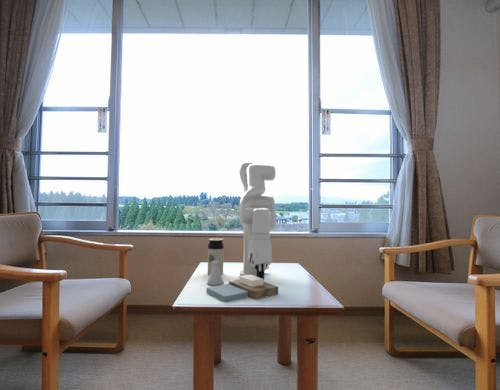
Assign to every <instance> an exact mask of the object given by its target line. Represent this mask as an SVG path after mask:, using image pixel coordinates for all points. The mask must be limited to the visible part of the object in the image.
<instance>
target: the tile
mask: <svg viewBox="0 0 500 390" xmlns="http://www.w3.org/2000/svg"><path fill="white" fill-rule="evenodd" d="M238 280H239V282H240V283H243V284H246V285H248V286H251V287H254V286H260V285H264V282H265V278H264V279H263V278H259V277H256V276H253V275H244V276H242V275H239V278H238Z"/></svg>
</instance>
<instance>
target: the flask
mask: <svg viewBox="0 0 500 390" xmlns="http://www.w3.org/2000/svg"><path fill="white" fill-rule="evenodd" d="M212 263H213V267H212V271H211V274H210V275H209V277H208V279H207V281H206V284H207V285H209V286H213V287H214V286H220V285H224V280H223V279H224V278H223V276H222V274H220V271H219V262H218V261H213V262H212Z"/></svg>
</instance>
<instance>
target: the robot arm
mask: <svg viewBox="0 0 500 390" xmlns="http://www.w3.org/2000/svg"><path fill="white" fill-rule="evenodd" d="M238 172H239V177H240V182H241V183H242V186H243V192H244V193H243V194H242V196H241V197H240V200H239V220H240V222H241V224H242V231H243V260H242V261H243V263H242V264H243V270H241V271H240V272H239V273H240V276H244V275H253V276H256V277H259V278H263V279H264V280H265V274H266V272H265V271H266V270H269V269H270V265H271V262H272V260H273V250H272V249H273V248H272V242H271V239H270V237H271V236H272V234H271V232H274V231H275V230H276V228H277V216H276V215H277V214H276V204H275V203H276V202H275V199H274V197H273V195H271V194H267V193H266V192H265V191H266V183H265V181H270V182H271V181H274V180H275V178H276V175H277V174H276V167H275V166H274V164H273V163H272V162H270V161H252V160H251V161H243V162H241V163H240V164H239V171H238ZM264 193H266V194H264Z"/></svg>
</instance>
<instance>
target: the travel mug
mask: <svg viewBox="0 0 500 390" xmlns="http://www.w3.org/2000/svg"><path fill="white" fill-rule="evenodd" d="M208 241H209V243H208V244H207V274H208V275H209V276H210V274H211V271H212V267H213V263H212V262H213V261H218V262H219V271H220V274H221V275H223V274H224V244H223V241H224V238H220V237H211V238H209V239H208Z"/></svg>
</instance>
